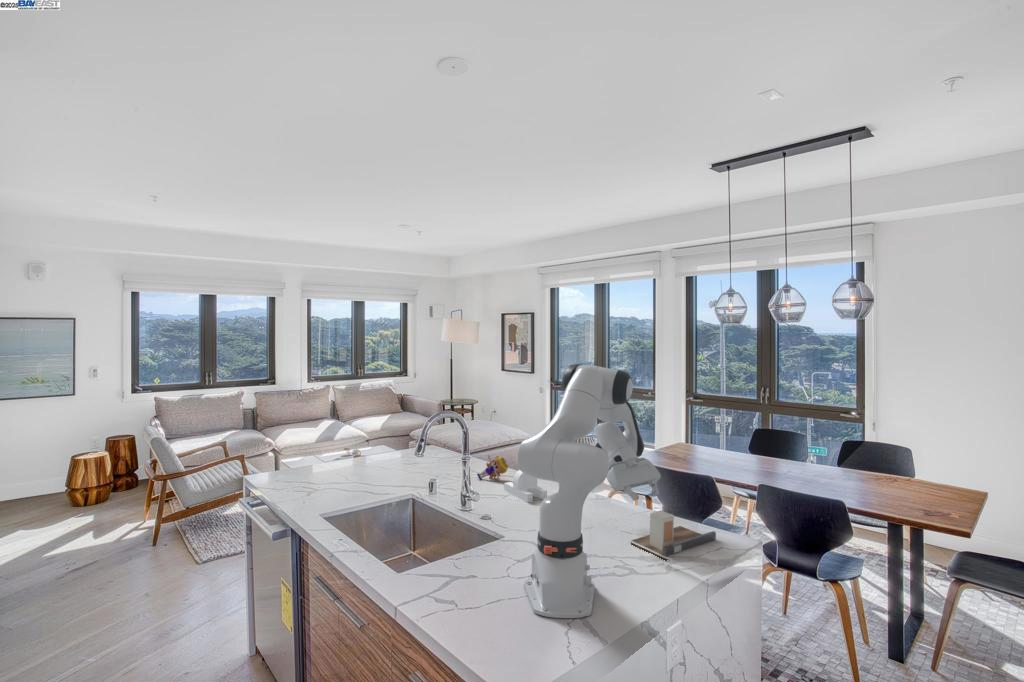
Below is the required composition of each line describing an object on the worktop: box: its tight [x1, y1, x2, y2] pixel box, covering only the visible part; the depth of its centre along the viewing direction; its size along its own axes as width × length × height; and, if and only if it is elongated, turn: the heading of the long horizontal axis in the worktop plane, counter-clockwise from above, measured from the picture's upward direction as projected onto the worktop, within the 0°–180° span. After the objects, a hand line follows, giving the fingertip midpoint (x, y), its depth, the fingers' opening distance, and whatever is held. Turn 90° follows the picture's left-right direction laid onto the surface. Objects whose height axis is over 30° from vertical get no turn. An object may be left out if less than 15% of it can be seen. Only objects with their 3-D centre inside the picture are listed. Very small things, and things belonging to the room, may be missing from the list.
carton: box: [649, 510, 675, 551], centre depth 159 cm, size 5×5×10 cm
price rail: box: [662, 530, 717, 557], centre depth 158 cm, size 1×24×2 cm, turn 123°
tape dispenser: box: [503, 469, 548, 503], centre depth 213 cm, size 18×10×11 cm, turn 32°
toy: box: [476, 454, 509, 482], centre depth 237 cm, size 14×7×15 cm
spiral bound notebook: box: [630, 525, 703, 562], centre depth 164 cm, size 14×24×2 cm, turn 123°
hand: (646, 497), depth 165 cm, fingers open, 8 cm apart
